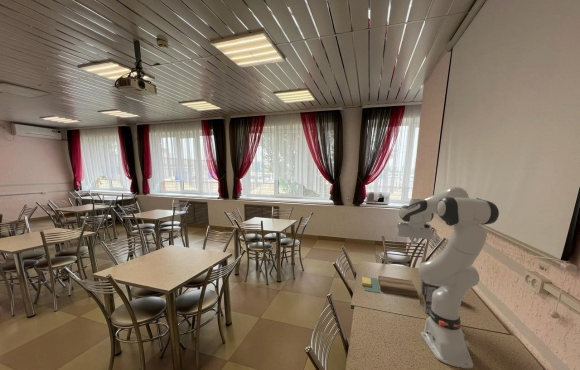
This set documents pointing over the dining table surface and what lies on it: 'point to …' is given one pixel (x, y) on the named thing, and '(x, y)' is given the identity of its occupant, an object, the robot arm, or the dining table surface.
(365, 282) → the yellow block
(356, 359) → the dining table surface
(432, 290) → the coffee box
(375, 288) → the mat
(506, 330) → the dining table surface
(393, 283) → the board
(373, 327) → the dining table surface
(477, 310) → the dining table surface
